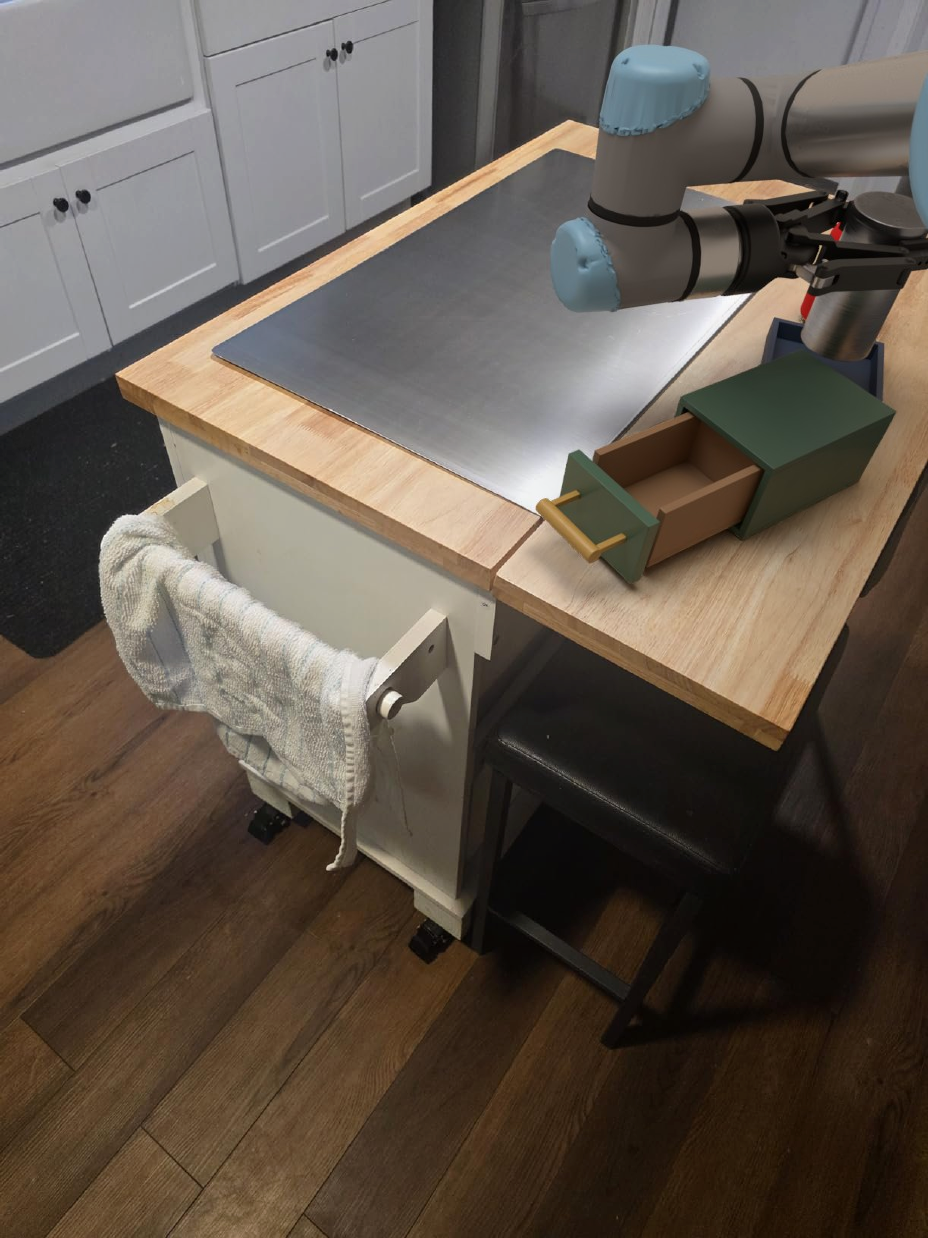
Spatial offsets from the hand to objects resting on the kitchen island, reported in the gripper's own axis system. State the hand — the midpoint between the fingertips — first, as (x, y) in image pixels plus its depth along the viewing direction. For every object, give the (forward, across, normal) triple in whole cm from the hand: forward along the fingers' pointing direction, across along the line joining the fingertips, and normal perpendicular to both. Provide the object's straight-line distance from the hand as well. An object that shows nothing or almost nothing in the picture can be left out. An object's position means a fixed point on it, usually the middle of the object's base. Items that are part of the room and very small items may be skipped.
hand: (925, 229), depth 84 cm
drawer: (-35, +16, -16) cm, 41 cm away
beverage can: (+3, -11, -17) cm, 21 cm away
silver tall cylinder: (-5, 0, -12) cm, 13 cm away
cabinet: (-19, +12, -17) cm, 28 cm away
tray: (-5, 0, -17) cm, 18 cm away
